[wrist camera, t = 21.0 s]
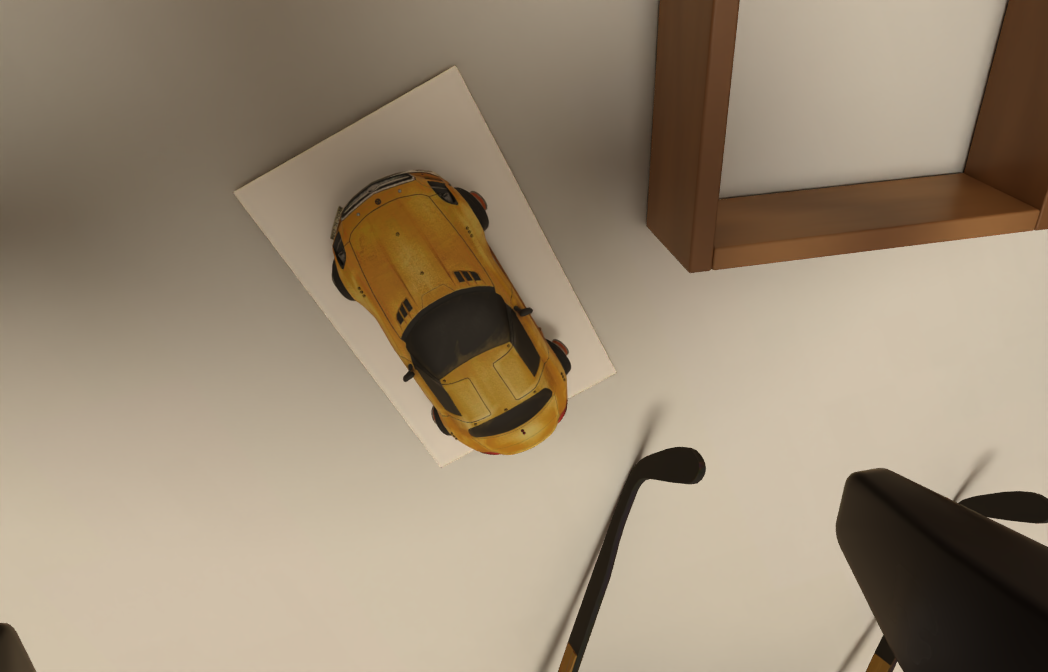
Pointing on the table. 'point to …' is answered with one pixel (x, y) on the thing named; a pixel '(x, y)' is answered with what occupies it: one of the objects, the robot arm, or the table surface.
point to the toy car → (435, 272)
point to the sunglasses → (690, 470)
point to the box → (845, 211)
